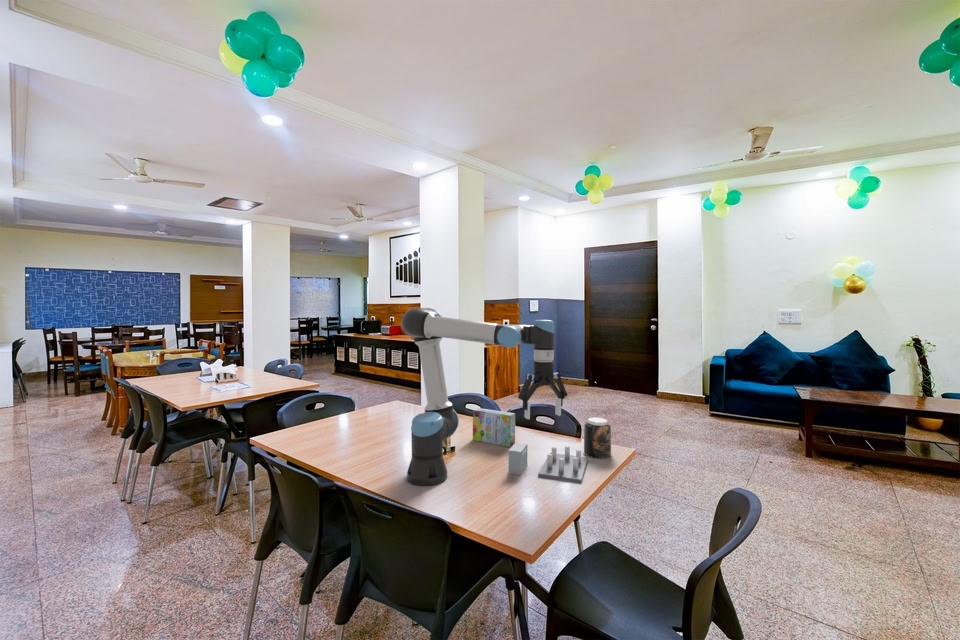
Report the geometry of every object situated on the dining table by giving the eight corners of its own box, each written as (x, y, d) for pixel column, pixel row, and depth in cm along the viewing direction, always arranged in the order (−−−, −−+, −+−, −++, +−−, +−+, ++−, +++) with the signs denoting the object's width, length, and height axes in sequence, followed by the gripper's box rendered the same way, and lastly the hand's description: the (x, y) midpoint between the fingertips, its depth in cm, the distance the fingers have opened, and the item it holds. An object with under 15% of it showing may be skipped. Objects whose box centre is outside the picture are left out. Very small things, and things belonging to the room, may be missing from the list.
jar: (578, 453, 177) (579, 420, 177) (591, 447, 185) (591, 415, 185) (603, 460, 169) (604, 425, 169) (615, 453, 177) (616, 419, 177)
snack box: (515, 444, 189) (515, 412, 189) (510, 448, 184) (510, 415, 184) (478, 437, 200) (478, 407, 200) (471, 440, 196) (471, 409, 195)
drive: (508, 473, 155) (508, 450, 155) (515, 464, 165) (515, 442, 165) (521, 475, 154) (521, 451, 153) (527, 465, 163) (527, 444, 163)
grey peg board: (538, 476, 152) (538, 460, 152) (550, 455, 175) (550, 441, 175) (581, 482, 147) (581, 466, 146) (588, 460, 169) (588, 445, 169)
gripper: (519, 363, 143) (518, 422, 143) (577, 360, 152) (576, 416, 153) (509, 360, 149) (508, 417, 150) (565, 358, 159) (564, 411, 160)
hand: (542, 416), depth 151 cm, fingers open, 13 cm apart
